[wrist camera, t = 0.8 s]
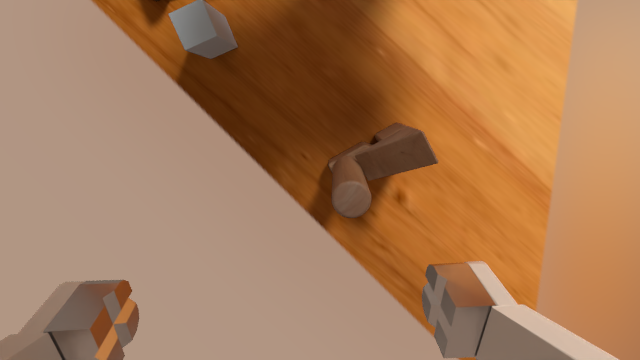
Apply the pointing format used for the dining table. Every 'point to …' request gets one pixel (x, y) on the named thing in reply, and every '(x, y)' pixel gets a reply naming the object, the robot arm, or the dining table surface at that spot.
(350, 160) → the brown wooden angled piece
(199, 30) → the steel block
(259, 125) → the dining table surface
